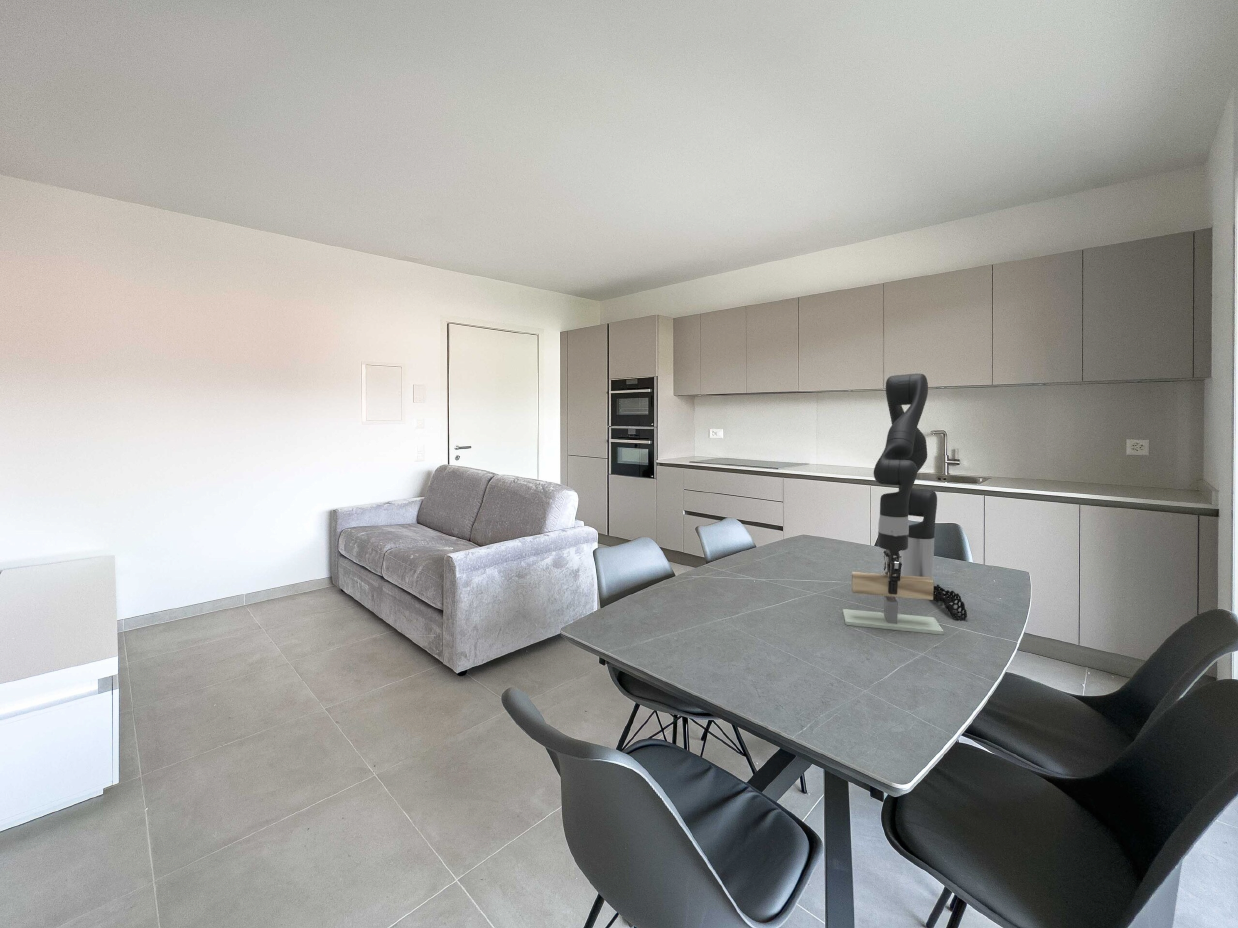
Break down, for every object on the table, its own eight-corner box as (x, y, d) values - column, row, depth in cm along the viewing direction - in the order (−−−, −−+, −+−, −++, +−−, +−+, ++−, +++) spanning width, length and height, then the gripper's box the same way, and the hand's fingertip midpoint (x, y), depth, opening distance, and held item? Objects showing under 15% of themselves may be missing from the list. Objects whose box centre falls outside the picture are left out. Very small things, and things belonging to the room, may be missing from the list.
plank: (851, 588, 155) (852, 571, 155) (929, 594, 149) (930, 577, 148) (853, 593, 151) (853, 575, 151) (933, 599, 145) (933, 581, 145)
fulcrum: (842, 612, 159) (843, 589, 159) (934, 620, 152) (935, 596, 151) (845, 624, 150) (846, 600, 149) (943, 634, 142) (944, 609, 142)
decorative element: (971, 622, 151) (972, 602, 151) (951, 621, 152) (952, 601, 151) (939, 596, 173) (940, 578, 173) (922, 595, 174) (923, 577, 173)
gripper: (874, 525, 156) (873, 582, 158) (882, 535, 143) (880, 598, 144) (903, 526, 154) (901, 584, 156) (913, 537, 141) (911, 601, 142)
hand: (891, 590), depth 150 cm, fingers closed on plank, 4 cm apart
